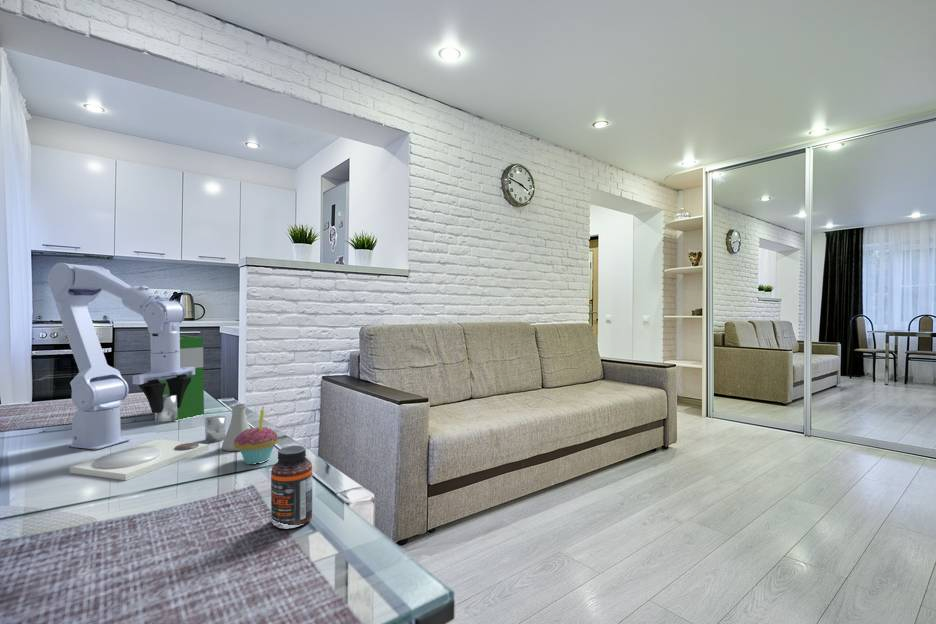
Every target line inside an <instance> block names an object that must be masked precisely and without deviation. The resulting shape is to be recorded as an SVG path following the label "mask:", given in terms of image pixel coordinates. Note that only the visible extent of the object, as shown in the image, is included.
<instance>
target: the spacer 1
mask: <svg viewBox="0 0 936 624" xmlns="http://www.w3.org/2000/svg"><path fill="white" fill-rule="evenodd" d="M177 418H178V416H177V394H164V395H163V399H162V412H161V413H154V421H155V422H157V423H160V422H171V421H173V420H175V419H177Z"/></svg>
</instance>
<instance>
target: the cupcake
mask: <svg viewBox="0 0 936 624" xmlns="http://www.w3.org/2000/svg"><path fill="white" fill-rule="evenodd" d="M261 408H262V409H261V410H260V414H259V415H260V416H259V422H258V427H253V428H251V427H250V429H246V430H245V431H243V432H242V433H241V434H239V435H238V436H237V437H236V439H235V440H234V447H235V448H237V449H239V450H238V451H240V453H241V455H242V458H243V461H244V463H245V464H246V463H247V465H249V464H254V463H259V462H262V461H265V460H267V459H268V458H270V459H271V455H272V451H273V449H274V447H275V446H276V444H277V442H278V439H279V436H278V434H277V432H276V431H274V430H273V429H271V428H268V427H266V426H264V427H263V425H264V414H265V410H264V408H265V406H262V407H261Z"/></svg>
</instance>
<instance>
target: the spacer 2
mask: <svg viewBox="0 0 936 624" xmlns="http://www.w3.org/2000/svg"><path fill="white" fill-rule="evenodd" d="M204 419H205V420H204V430H205V431H204V434H205V435H204V436H205V437H204V439H205V440H204V441H205V443H206V444H209V443H210V444H211V443H220V442H224V439H225V437H226V434H227V433H226V416H224V415H215V416H214V415H213V416H210V417H206V418H204Z"/></svg>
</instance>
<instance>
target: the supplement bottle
mask: <svg viewBox="0 0 936 624" xmlns="http://www.w3.org/2000/svg"><path fill="white" fill-rule="evenodd" d="M306 450H307V449H306V447H305V446H303V445H288V446H285V447H282V448H280V449H278V451H277V462H276V463H274V465H273V466H272V467H271V471H270V480H271V481H270V491H271V492H270V496H271V497H270V500H271V501H270V503H271V505H270V507H271V509H270V513H271V516H270V517H271V518H272V519H273V520H275V521H277V522H280V523H283V524H288V525H300V524H305V523H307V522H308V521H309V520H310V519H311V520H312V518H313V465H312V462H311V461H310V460H309V459H308V458H307V457H306V456H307V453H306V452H307V451H306ZM271 518H270V519H271ZM272 519H271V520H272ZM311 520H310V521H311ZM310 521H309V522H310ZM309 522H308V523H309ZM308 523H307V524H308ZM305 525H306V524H305Z"/></svg>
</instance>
